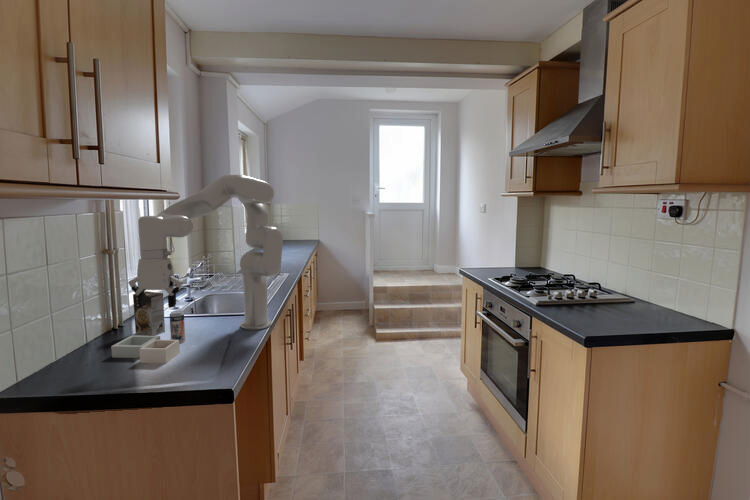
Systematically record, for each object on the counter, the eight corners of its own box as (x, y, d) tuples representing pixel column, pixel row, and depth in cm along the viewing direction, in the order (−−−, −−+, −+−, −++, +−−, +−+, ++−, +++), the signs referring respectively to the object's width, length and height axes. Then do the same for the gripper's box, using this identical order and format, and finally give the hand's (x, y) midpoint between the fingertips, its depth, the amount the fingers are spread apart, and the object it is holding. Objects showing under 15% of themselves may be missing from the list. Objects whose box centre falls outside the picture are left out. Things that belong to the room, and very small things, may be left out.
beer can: (169, 346, 141) (167, 314, 139) (172, 341, 145) (170, 310, 144) (184, 345, 142) (182, 313, 141) (186, 340, 147) (184, 309, 145)
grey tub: (132, 347, 139) (131, 335, 139) (160, 348, 139) (160, 335, 138) (112, 359, 129) (111, 346, 128) (143, 360, 129) (142, 346, 128)
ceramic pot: (155, 354, 133) (154, 339, 132) (179, 355, 133) (179, 339, 132) (140, 365, 125) (139, 348, 124) (166, 365, 125) (165, 349, 124)
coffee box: (134, 334, 153) (131, 294, 151) (148, 329, 159) (146, 290, 157) (152, 336, 150) (149, 296, 148) (166, 331, 157) (163, 292, 154)
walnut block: (156, 356, 130) (155, 346, 130) (167, 355, 131) (167, 345, 130) (153, 360, 127) (152, 350, 126) (165, 359, 127) (164, 349, 127)
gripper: (186, 253, 128) (189, 303, 130) (134, 252, 128) (138, 303, 130) (174, 256, 120) (177, 310, 123) (119, 255, 121) (123, 309, 123)
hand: (157, 306), depth 127 cm, fingers open, 9 cm apart
